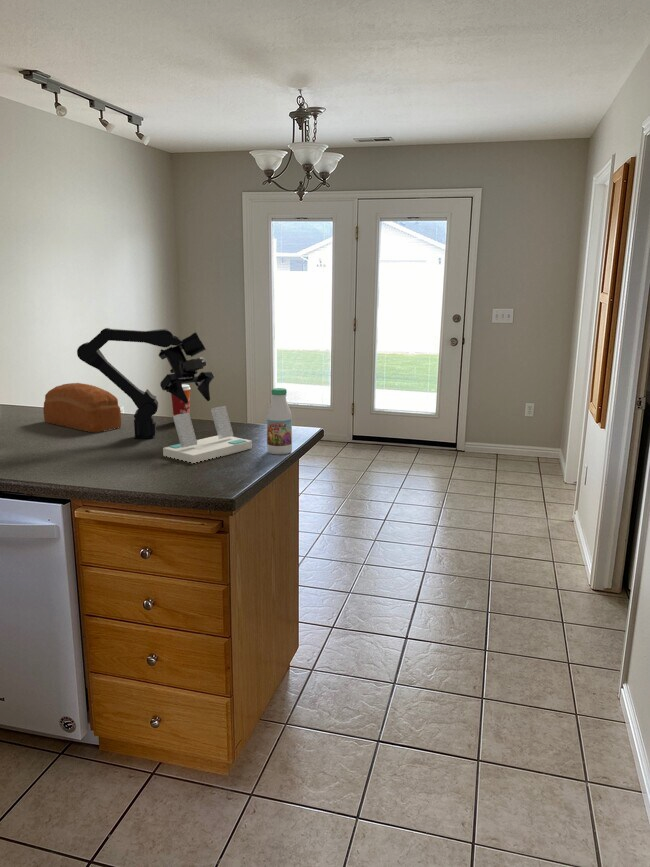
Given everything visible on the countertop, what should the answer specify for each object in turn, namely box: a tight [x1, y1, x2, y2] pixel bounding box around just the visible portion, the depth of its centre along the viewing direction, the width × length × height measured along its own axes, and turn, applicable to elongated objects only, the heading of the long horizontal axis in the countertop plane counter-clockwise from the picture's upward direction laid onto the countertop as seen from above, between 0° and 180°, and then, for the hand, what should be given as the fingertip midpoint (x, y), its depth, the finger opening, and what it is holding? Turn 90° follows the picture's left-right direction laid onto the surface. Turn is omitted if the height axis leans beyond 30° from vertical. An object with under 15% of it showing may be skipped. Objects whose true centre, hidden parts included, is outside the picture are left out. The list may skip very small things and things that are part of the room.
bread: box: [43, 382, 122, 433], centre depth 241 cm, size 14×33×16 cm, turn 54°
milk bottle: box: [266, 387, 293, 456], centre depth 202 cm, size 8×8×20 cm
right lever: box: [210, 405, 235, 439], centre depth 209 cm, size 2×5×10 cm, turn 141°
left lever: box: [172, 413, 198, 448], centre depth 197 cm, size 2×5×10 cm, turn 141°
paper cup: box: [170, 383, 191, 416], centre depth 246 cm, size 8×8×14 cm
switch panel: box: [162, 434, 253, 464], centre depth 204 cm, size 14×24×3 cm, turn 141°
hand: (198, 401), depth 215 cm, fingers open, 9 cm apart
